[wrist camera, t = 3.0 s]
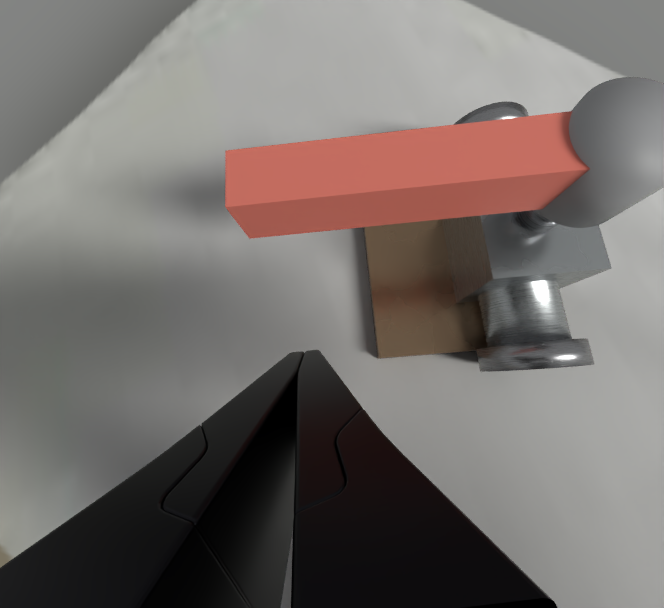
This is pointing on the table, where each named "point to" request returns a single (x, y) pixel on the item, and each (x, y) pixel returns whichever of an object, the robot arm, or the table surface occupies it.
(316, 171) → the lever
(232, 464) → the robot arm
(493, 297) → the valve
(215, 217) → the table surface
